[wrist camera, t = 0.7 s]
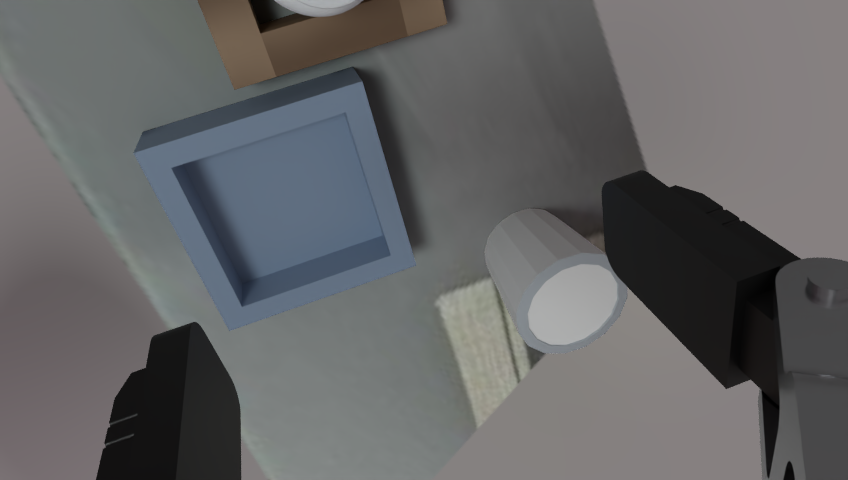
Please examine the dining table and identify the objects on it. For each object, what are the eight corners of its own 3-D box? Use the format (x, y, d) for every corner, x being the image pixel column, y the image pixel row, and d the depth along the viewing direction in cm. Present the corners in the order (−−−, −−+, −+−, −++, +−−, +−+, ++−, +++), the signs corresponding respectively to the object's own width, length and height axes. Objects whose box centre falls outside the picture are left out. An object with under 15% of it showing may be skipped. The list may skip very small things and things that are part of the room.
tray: (142, 132, 30) (133, 153, 27) (352, 66, 31) (362, 81, 28) (230, 300, 36) (229, 330, 33) (404, 240, 37) (416, 265, 34)
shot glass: (582, 262, 41) (638, 321, 35) (493, 306, 41) (535, 373, 35) (558, 181, 38) (617, 232, 32) (460, 229, 37) (501, 289, 32)
